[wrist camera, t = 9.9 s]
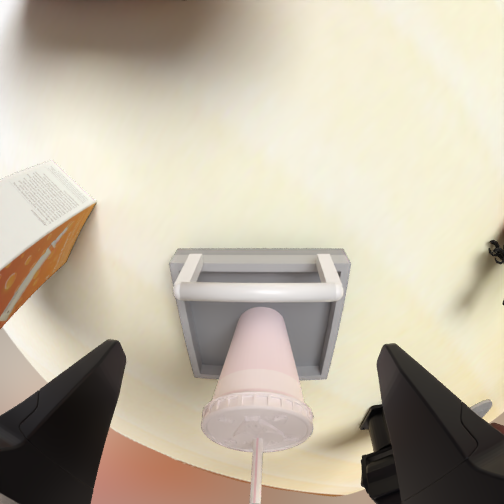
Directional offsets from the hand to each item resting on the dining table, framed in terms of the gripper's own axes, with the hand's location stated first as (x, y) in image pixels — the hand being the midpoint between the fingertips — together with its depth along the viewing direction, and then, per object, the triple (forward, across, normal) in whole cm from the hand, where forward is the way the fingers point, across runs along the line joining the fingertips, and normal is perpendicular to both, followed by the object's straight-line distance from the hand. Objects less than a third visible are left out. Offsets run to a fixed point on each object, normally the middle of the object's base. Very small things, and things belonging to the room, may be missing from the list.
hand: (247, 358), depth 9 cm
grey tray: (+13, 0, +8) cm, 15 cm away
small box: (+14, +18, -1) cm, 22 cm away
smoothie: (+11, 0, +8) cm, 14 cm away
